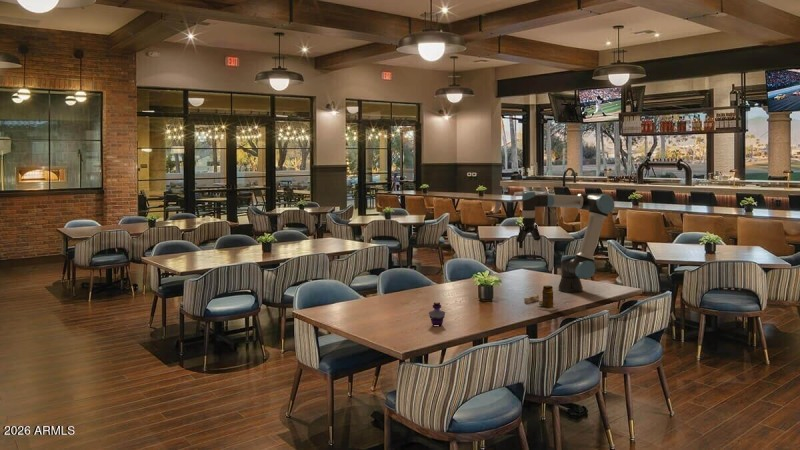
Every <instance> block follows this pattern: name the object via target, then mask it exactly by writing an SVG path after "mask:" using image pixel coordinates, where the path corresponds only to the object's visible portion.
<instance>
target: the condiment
mask: <svg viewBox="0 0 800 450" xmlns="http://www.w3.org/2000/svg"><path fill="white" fill-rule="evenodd" d="M541 296H542V298H541V300H542V305H543V306H539V305H537V306H536V308H537V307H540V308H544V309H548V308H554V307H555V306H556V305H554V290H553V286H552V285H544V286H543V287H542V295H541ZM553 305H554V306H553Z"/></svg>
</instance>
